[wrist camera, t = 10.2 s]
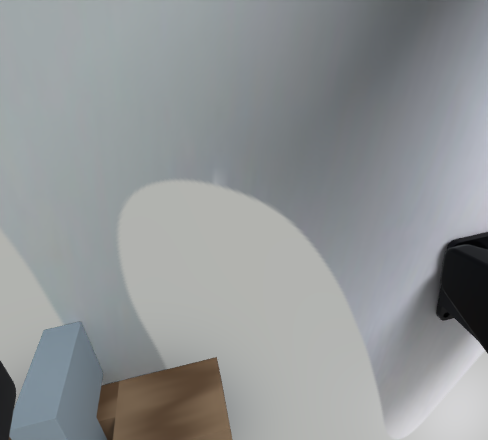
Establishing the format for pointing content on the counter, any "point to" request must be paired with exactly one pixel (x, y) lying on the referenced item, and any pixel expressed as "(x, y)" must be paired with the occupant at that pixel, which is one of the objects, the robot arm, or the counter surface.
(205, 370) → the walnut board
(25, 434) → the slate block
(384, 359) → the counter surface
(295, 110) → the counter surface
